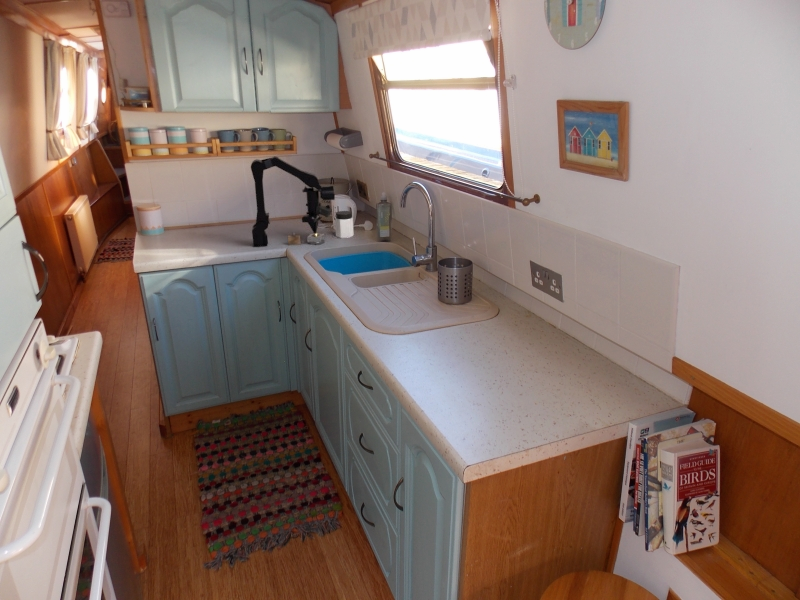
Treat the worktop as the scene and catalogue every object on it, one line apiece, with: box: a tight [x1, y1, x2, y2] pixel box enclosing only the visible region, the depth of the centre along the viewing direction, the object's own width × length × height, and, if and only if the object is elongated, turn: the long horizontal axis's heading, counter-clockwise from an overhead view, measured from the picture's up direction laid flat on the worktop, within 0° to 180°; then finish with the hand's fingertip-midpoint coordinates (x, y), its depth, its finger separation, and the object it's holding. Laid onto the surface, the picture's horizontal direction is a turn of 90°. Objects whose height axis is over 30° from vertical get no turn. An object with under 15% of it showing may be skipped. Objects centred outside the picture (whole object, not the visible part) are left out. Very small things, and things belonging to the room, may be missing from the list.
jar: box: [334, 210, 354, 239], centre depth 283 cm, size 9×8×12 cm
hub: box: [307, 232, 326, 246], centre depth 273 cm, size 8×8×5 cm
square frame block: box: [306, 232, 326, 243], centre depth 273 cm, size 7×7×2 cm
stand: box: [287, 232, 301, 246], centre depth 271 cm, size 6×2×6 cm, turn 106°
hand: (315, 232), depth 275 cm, fingers closed
